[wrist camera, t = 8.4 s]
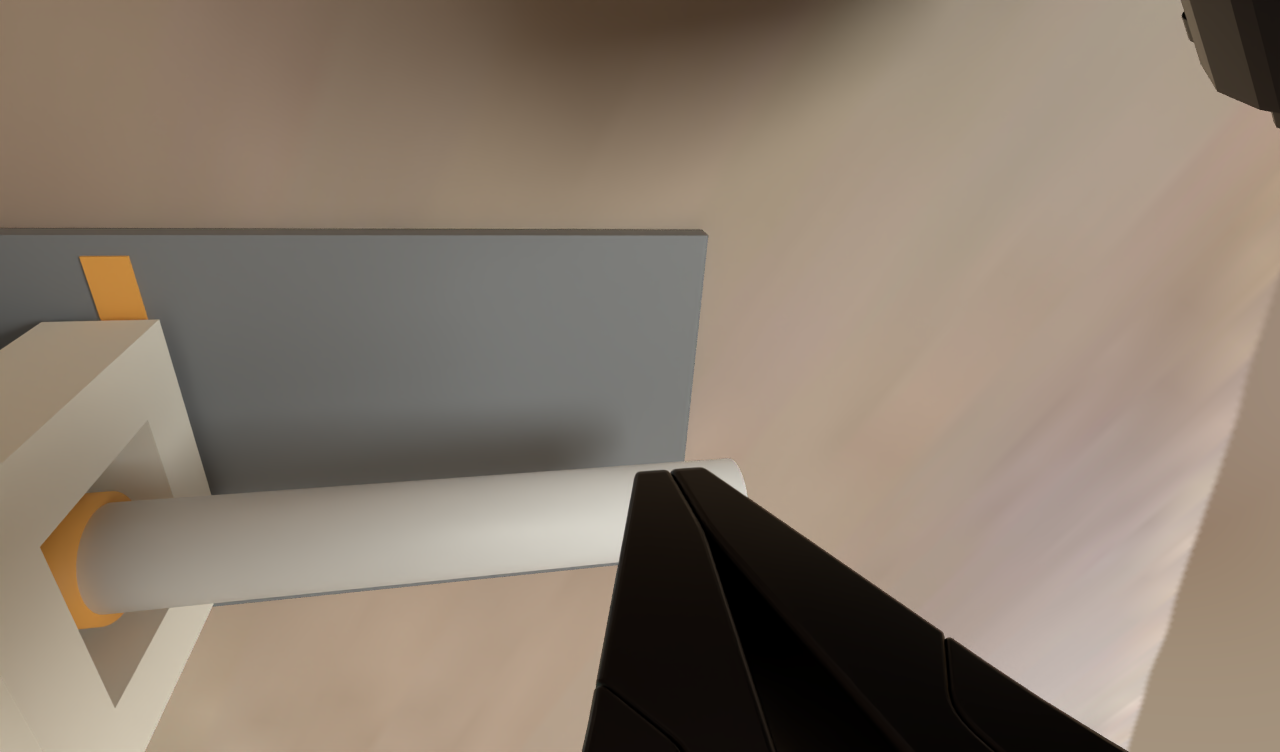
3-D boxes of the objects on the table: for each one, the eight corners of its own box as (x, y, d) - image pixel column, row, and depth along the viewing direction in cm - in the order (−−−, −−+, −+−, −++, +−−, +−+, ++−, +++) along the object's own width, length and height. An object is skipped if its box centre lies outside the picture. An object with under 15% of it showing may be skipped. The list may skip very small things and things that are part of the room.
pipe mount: (702, 229, 19) (824, 346, 12) (669, 548, 25) (741, 752, 18) (-367, 227, 14) (-1162, 419, 7) (-110, 624, 20) (-429, 948, 13)
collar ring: (159, 319, 16) (-78, 536, 9) (231, 564, 20) (99, 849, 13) (41, 322, 16) (-301, 553, 9) (138, 572, 20) (-52, 874, 13)
